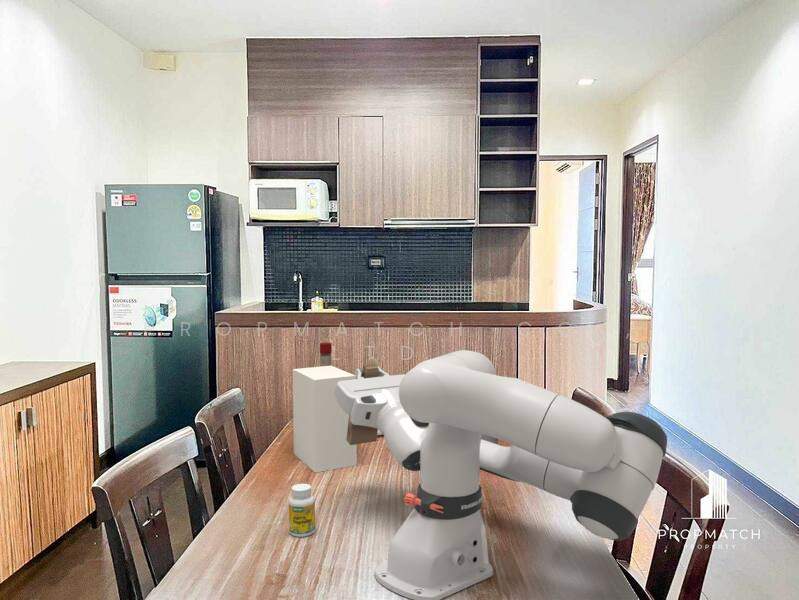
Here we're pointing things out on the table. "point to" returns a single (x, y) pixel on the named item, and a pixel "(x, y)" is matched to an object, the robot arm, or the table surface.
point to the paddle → (358, 432)
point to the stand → (321, 419)
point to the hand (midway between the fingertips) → (366, 369)
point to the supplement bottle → (301, 511)
